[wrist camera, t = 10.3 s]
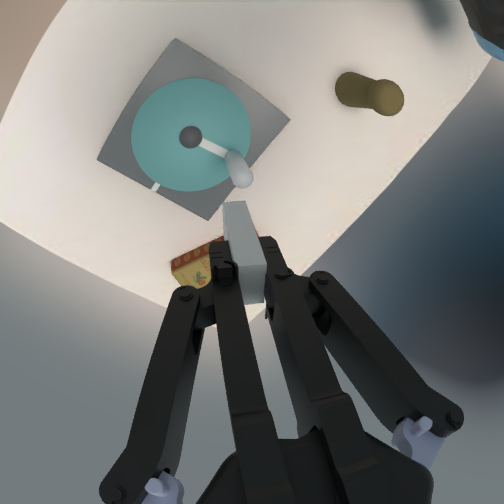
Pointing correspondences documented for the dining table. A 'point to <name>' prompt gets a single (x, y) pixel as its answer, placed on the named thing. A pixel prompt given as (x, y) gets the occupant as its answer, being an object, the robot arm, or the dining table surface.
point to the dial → (192, 136)
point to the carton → (194, 266)
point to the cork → (369, 93)
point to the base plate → (183, 67)
